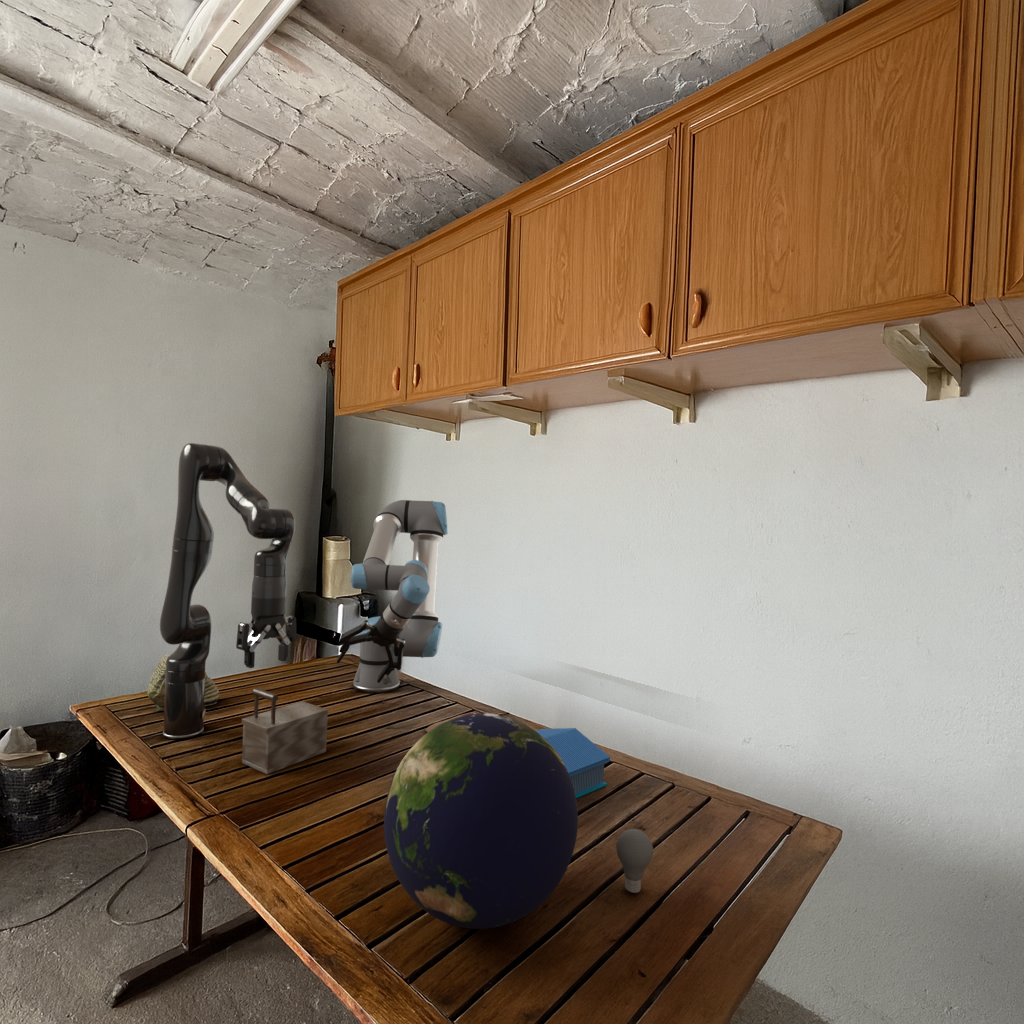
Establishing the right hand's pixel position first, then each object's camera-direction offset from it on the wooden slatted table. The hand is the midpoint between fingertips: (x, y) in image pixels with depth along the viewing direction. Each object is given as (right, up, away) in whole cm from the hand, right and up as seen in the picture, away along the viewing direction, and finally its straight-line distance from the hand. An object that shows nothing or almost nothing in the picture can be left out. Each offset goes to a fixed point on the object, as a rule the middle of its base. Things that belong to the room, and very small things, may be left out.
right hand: (358, 669), depth 191 cm
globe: (+41, -15, -92) cm, 102 cm away
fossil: (-50, -9, -6) cm, 51 cm away
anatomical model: (+29, -13, -16) cm, 36 cm away
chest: (-8, -12, -38) cm, 41 cm away
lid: (-8, -2, -39) cm, 40 cm away
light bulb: (+66, -16, -85) cm, 109 cm away
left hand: (-11, +12, -44) cm, 47 cm away
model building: (+48, -14, -53) cm, 72 cm away
